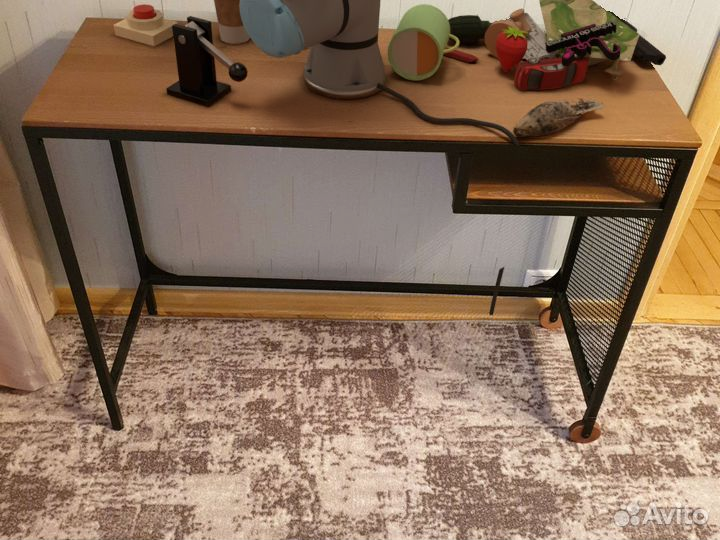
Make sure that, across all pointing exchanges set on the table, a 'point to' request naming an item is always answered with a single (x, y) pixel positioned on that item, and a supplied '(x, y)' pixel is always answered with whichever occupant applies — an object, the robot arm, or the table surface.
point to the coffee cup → (230, 21)
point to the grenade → (468, 28)
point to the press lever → (220, 56)
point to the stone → (536, 42)
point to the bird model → (552, 117)
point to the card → (576, 10)
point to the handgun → (645, 48)
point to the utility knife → (461, 55)
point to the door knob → (503, 24)
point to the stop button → (144, 11)
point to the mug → (420, 42)
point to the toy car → (549, 73)
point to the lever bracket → (195, 66)
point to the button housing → (145, 28)
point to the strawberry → (511, 47)
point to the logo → (584, 42)
